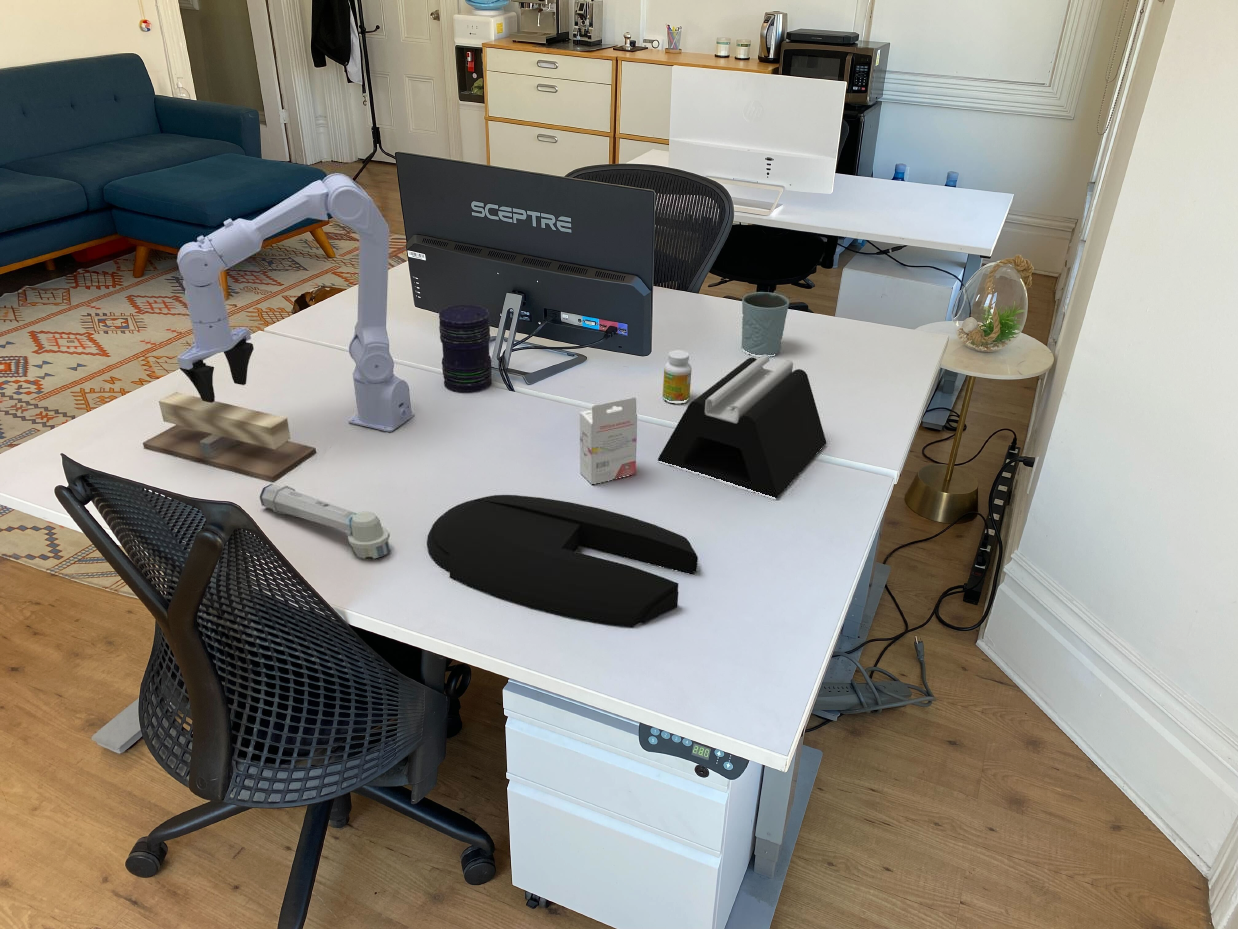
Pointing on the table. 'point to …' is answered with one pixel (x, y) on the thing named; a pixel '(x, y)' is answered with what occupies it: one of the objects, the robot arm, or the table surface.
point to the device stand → (750, 428)
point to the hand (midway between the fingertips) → (224, 392)
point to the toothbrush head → (331, 518)
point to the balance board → (232, 453)
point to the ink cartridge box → (608, 441)
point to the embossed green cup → (763, 322)
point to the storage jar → (465, 348)
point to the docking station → (561, 557)
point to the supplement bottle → (677, 376)
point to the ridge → (216, 445)
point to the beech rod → (225, 420)
